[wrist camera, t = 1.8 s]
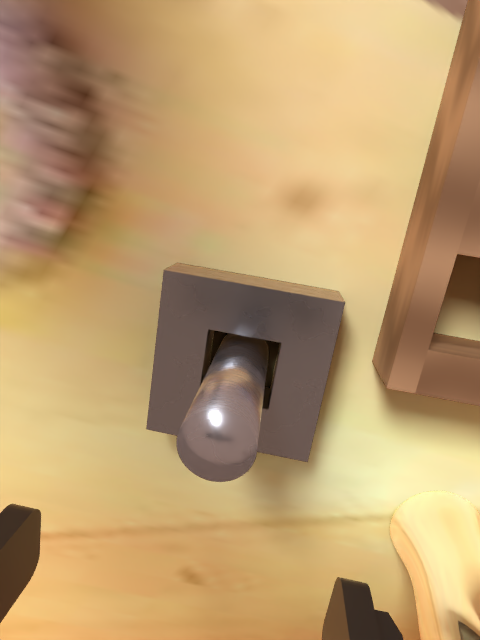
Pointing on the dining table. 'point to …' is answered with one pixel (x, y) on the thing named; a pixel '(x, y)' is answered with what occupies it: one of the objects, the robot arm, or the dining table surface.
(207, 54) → the dining table surface
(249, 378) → the round metal peg
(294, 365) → the socket block
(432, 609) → the beer glass
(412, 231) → the rack
